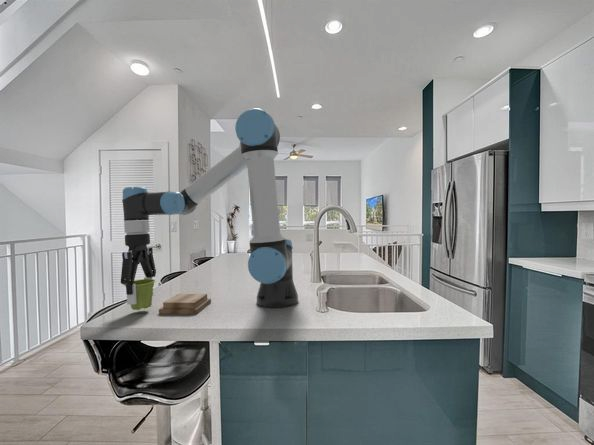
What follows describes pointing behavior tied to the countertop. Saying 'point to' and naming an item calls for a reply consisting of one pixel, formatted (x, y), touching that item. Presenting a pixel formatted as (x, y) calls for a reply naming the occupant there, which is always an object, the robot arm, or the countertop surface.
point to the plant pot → (143, 293)
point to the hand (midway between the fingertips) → (141, 299)
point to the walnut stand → (185, 304)
